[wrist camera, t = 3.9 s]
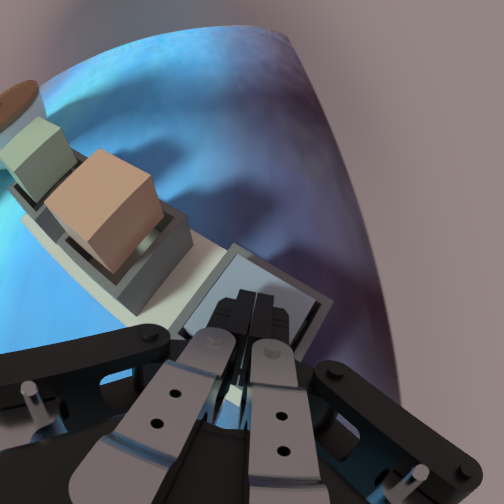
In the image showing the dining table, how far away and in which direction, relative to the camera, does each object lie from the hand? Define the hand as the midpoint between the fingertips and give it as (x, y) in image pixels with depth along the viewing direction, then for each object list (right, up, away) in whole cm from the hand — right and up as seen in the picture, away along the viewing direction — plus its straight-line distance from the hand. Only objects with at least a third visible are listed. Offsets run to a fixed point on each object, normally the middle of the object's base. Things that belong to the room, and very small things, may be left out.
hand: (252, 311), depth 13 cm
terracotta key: (-8, +4, +3) cm, 10 cm away
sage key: (-16, +9, +5) cm, 19 cm away
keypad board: (-8, +2, +8) cm, 12 cm away
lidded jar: (-29, +15, +14) cm, 35 cm away
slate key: (0, -2, +4) cm, 4 cm away
